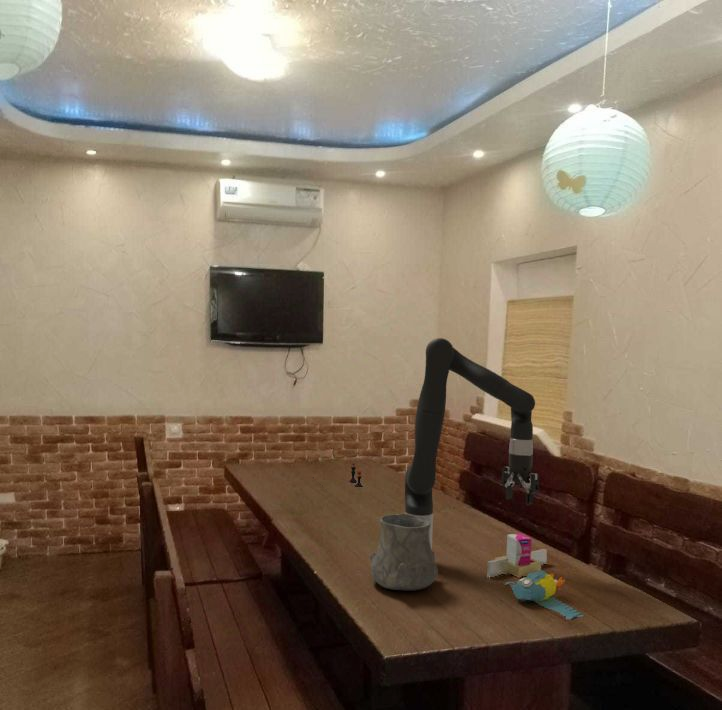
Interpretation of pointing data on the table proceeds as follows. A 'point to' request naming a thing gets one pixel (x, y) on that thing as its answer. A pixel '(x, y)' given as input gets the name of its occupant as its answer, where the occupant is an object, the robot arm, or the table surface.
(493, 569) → the square frame with handle
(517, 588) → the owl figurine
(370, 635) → the table surface
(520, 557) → the supplement box
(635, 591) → the table surface
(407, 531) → the vessel
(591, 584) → the table surface
